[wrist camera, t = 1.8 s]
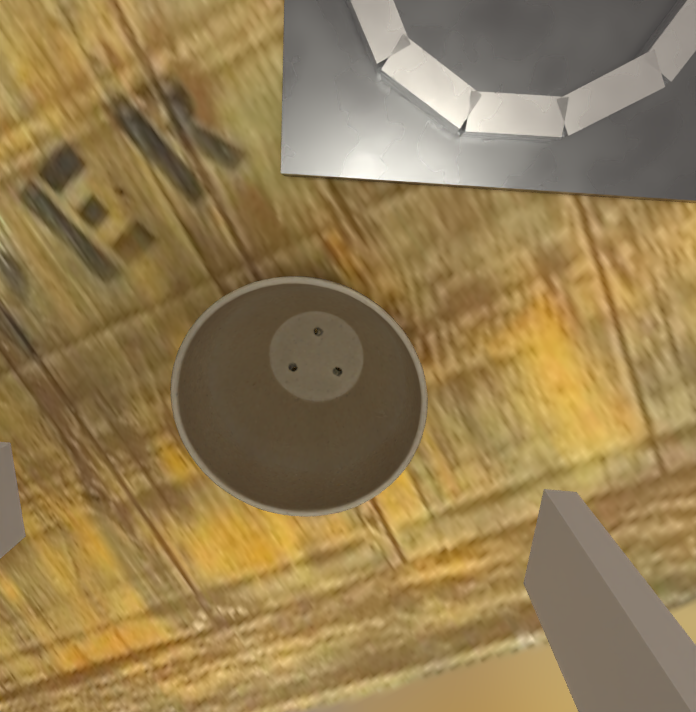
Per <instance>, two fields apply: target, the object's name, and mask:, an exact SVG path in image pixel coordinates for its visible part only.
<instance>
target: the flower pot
mask: <svg viewBox="0 0 696 712" xmlns="http://www.w3.org/2000/svg"><path fill="white" fill-rule="evenodd" d="M315 329H317V330H318V332H317V334H315V332H314V331H315ZM293 367H297V369H296V370H295V371H292V368H293ZM336 367H337V368H340V369H341V371H338V370H337V369H336ZM171 403H172V410H173V415H174V420H175V423H176V426H177V429H178V432H179V435H180V436H181V439H182V442H183V444H184V445H185V447H186V449H187V450H188V452H189V454H190V456H191V457H192V458H193V460H194V461H195V462H196V464H197V465H198V466H199V467H200V469H201V470H202V471H203V472H204V473H205V474H206V475H207V476H208V477H209V478H210V479H211V480H212V481H213V482H215V483H216V484H217V485H218V486H219V487H221V488H222V489H223V490H225V491H226V492H228V493H229V494H231V495H232V496H234V497H236V498H237V499H239V500H241V501H243V502H245V503H247V504H249V505H251V506H254V507H256V508H259V509H262V510H265V511H269V512H273V513H277V514H282V515H290V516H321V515H328V514H334V513H339V512H342V511H345V510H348V509H351V508H354V507H356V506H358V505H361V504H363V503H365V502H366V501H368V500H370V499H372V498H373V497H375V496H377V495H378V494H380V493H381V492H382V491H384V490H385V489H386V488H387V487H388V486H389V485H391V484H392V483H393V482H394V481H395V480H396V479H397V478H398V477H399V476H400V474H401V473H402V472H403V471H404V470H405V468H406V467H407V466H408V464H409V463H410V461H411V459H412V458H413V456H414V454H415V452H416V450H417V448H418V446H419V443H420V441H421V438H422V435H423V431H424V427H425V423H426V417H427V403H428V398H427V387H426V381H425V376H424V372H423V368H422V365H421V363H420V360H419V358H418V355H417V353H416V351H415V349H414V347H413V345H412V343H411V342H410V340H409V338H408V337H407V335H406V334H405V332H404V331H403V330H402V328H401V327H400V326H399V325H398V324H397V323H396V321H395V320H394V319H393V318H392V317H391V316H390V315H389V314H388V313H387V312H386V311H385V310H383V309H382V308H381V307H380V306H379V305H377V304H376V303H375V302H373V301H372V300H371V299H369V298H368V297H366V296H364V295H363V294H361V293H359V292H357V291H355V290H354V289H351V288H349V287H347V286H345V285H342V284H339V283H336V282H332V281H329V280H325V279H320V278H313V277H304V276H289V277H277V278H271V279H265V280H261V281H256V282H254V283H251V284H248V285H245V286H243V287H240V288H238V289H236V290H234V291H232V292H230V293H229V294H227V295H225V296H223V297H222V298H220V299H219V300H218V301H216V302H215V303H214V304H213V305H211V306H210V307H209V308H208V309H207V310H206V311H205V312H204V313H203V314H202V315H201V316H200V317H199V318H198V319H197V320H196V322H195V323H194V324H193V326H192V327H191V328H190V330H189V331H188V333H187V335H186V336H185V338H184V340H183V342H182V344H181V346H180V348H179V350H178V353H177V356H176V360H175V363H174V367H173V372H172V378H171Z"/></svg>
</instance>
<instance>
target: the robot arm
mask: <svg viewBox="0 0 696 712" xmlns="http://www.w3.org/2000/svg"><path fill="white" fill-rule="evenodd" d="M24 537H25V530H24V524H23V518H22V511H21V505H20V499H19V493H18V487H17V480H16V474H15V468H14V462H13V455H12V449H11V443H9V442H0V558H2V557H3V556H4V555H5V554H6V553H7V552H8V551H9V550H11V549H12V548H13V547H14V546H15V545H16V544H17V543H19V542H20V541H21V540H22V539H23V538H24ZM524 585H525V588H526V590H527V592H528V595H529V597H530V599H531V602H532V604H533V607H534V609H535V611H536V614H537V616H538V618H539V621H540V623H541V625H542V628H543V630H544V632H545V635H546V637H547V639H548V642H549V644H550V646H551V649H552V651H553V653H554V656H555V658H556V660H557V662H558V665H559V667H560V670H561V672H562V674H563V676H564V679H565V681H566V683H567V686H568V688H569V691H570V693H571V695H572V698H573V700H574V702H575V705H576V707H577V709H578V711H579V712H696V645H695V644H694V643H693V641H692V640H691V638H690V637H689V636H688V635H687V633H686V632H685V631H684V630H683V629H682V627H681V626H680V625H679V623H678V622H677V620H676V619H675V618H674V617H673V615H672V614H671V613H670V612H669V610H668V609H667V608H666V606H665V605H664V604H663V603H662V601H661V600H660V599H659V597H658V596H657V595H656V594H655V592H654V591H653V590H652V588H651V587H650V586H649V585H648V583H647V582H646V581H645V579H644V578H643V577H642V576H641V574H640V573H639V572H638V570H637V569H636V568H635V567H634V565H633V564H632V563H631V561H630V560H629V559H628V558H627V556H626V555H625V554H624V552H623V551H622V550H621V549H620V547H619V546H618V545H617V543H616V542H615V541H614V540H613V538H612V537H611V536H610V534H609V533H608V532H607V531H606V529H605V528H604V527H603V525H602V524H601V523H600V522H599V520H598V519H597V518H596V517H595V515H594V514H593V513H592V511H591V510H590V509H589V508H588V506H587V505H586V504H585V502H584V501H583V500H582V499H581V497H580V496H579V495H578V493H577V492H570V491H559V490H547V489H544V491H543V496H542V501H541V505H540V510H539V515H538V519H537V524H536V528H535V533H534V538H533V542H532V547H531V552H530V556H529V561H528V565H527V570H526V575H525V579H524Z"/></svg>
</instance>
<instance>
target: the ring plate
mask: <svg viewBox="0 0 696 712" xmlns="http://www.w3.org/2000/svg"><path fill="white" fill-rule="evenodd" d="M281 174H283V175H285V176H298V177H313V178H328V179H343V180H358V181H373V182H388V183H403V184H418V185H433V186H448V187H463V188H478V189H493V190H508V191H523V192H539V193H554V194H569V195H584V196H599V197H614V198H629V199H644V200H659V201H674V202H689V203H696V0H285V2H284V49H283V95H282V141H281Z"/></svg>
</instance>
